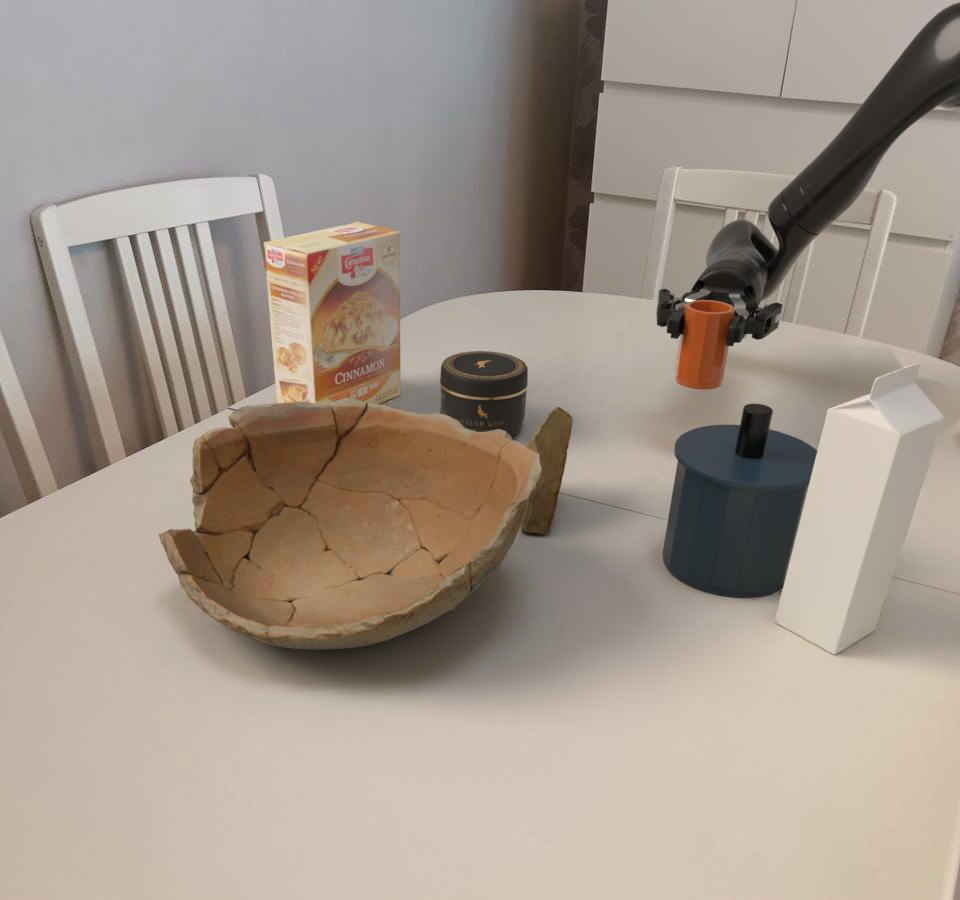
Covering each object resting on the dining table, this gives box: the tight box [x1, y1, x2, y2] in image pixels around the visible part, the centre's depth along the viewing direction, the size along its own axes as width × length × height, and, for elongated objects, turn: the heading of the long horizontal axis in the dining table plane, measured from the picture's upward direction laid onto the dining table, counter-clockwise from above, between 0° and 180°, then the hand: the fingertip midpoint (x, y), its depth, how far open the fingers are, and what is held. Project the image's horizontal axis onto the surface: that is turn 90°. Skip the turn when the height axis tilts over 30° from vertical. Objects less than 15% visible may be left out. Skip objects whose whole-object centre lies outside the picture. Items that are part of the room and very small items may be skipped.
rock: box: [521, 406, 574, 535], centre depth 95 cm, size 11×9×10 cm
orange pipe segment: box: [674, 300, 735, 390], centre depth 103 cm, size 5×5×8 cm
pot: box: [662, 460, 809, 598], centre depth 86 cm, size 12×12×10 cm
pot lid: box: [673, 403, 818, 491], centre depth 82 cm, size 13×13×5 cm
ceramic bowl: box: [158, 398, 541, 651], centre depth 80 cm, size 30×27×15 cm
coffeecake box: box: [263, 221, 402, 405], centre depth 112 cm, size 15×7×20 cm, turn 143°
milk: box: [774, 362, 945, 656], centre depth 75 cm, size 6×6×22 cm
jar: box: [439, 350, 529, 438], centre depth 111 cm, size 10×10×8 cm
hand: (703, 332), depth 100 cm, fingers closed on orange pipe segment, 5 cm apart
